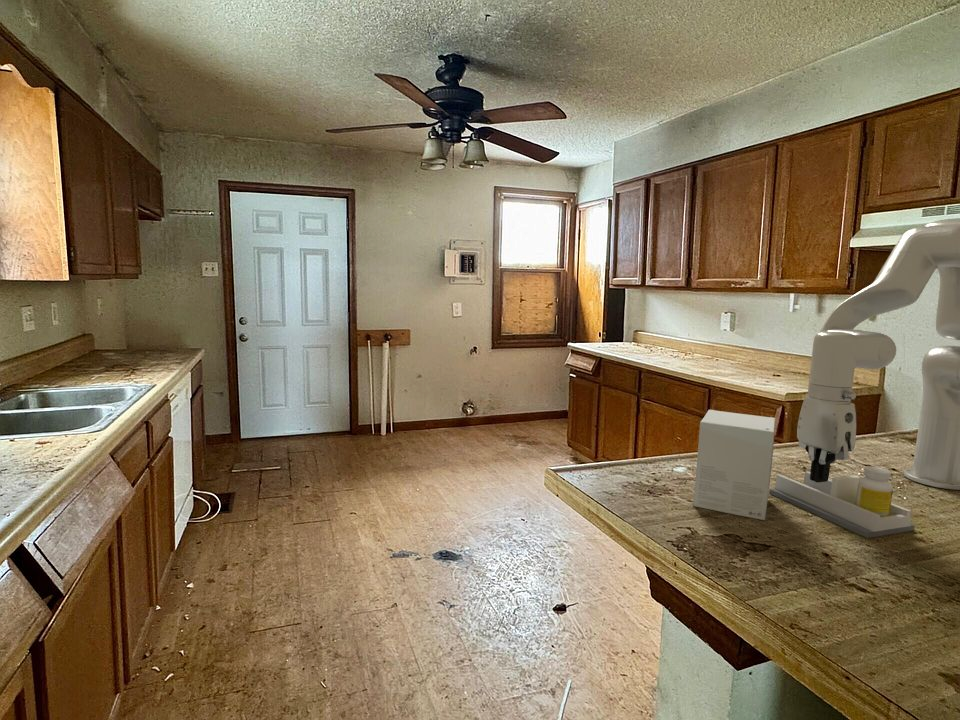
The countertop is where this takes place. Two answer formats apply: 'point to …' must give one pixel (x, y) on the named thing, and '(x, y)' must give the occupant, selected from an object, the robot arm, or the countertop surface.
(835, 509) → the lane
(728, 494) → the supplement box
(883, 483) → the supplement bottle
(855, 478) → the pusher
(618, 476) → the countertop surface
